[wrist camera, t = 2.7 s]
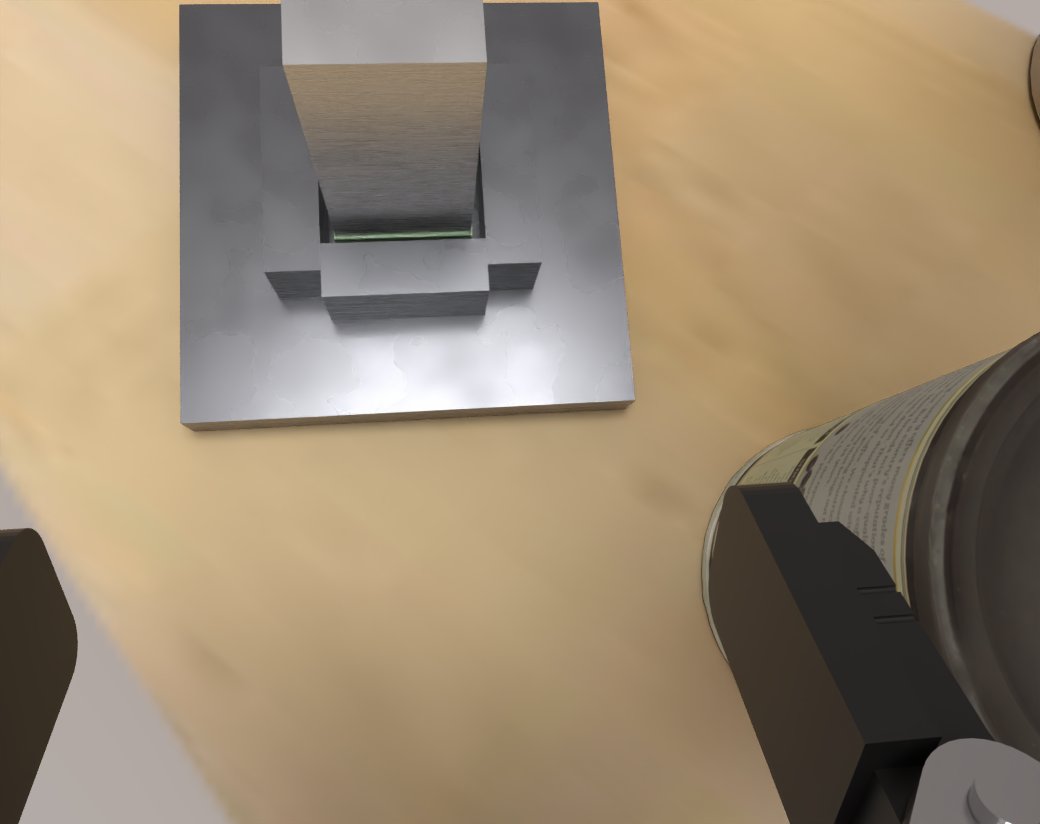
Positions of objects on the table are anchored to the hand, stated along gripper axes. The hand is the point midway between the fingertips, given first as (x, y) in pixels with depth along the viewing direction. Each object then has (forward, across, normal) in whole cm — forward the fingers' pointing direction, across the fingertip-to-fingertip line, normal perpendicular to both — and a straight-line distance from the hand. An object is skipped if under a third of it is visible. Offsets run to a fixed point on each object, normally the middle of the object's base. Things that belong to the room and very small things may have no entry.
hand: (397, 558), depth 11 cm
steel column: (+20, 0, +3) cm, 20 cm away
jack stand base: (+21, 0, +4) cm, 21 cm away
